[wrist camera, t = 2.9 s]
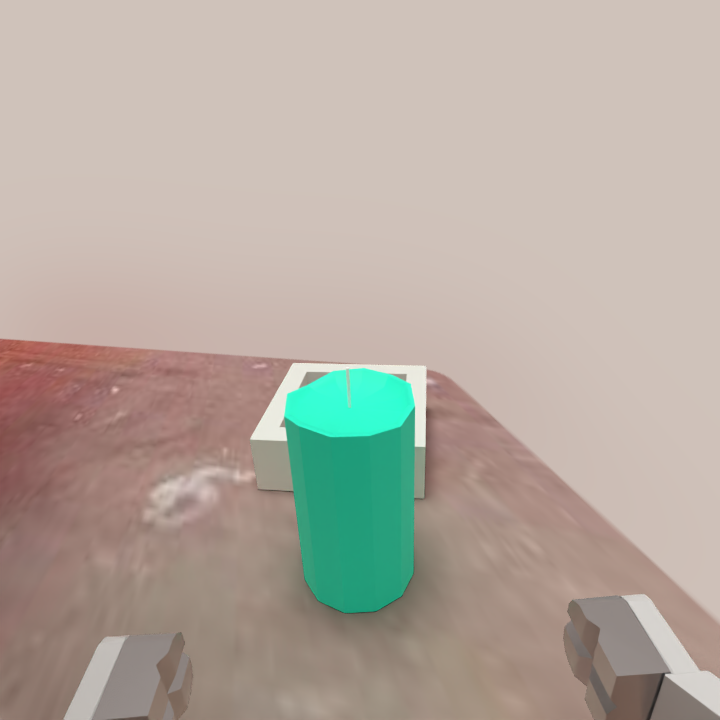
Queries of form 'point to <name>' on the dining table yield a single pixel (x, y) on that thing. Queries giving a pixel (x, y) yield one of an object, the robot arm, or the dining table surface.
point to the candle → (354, 486)
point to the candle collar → (272, 432)
